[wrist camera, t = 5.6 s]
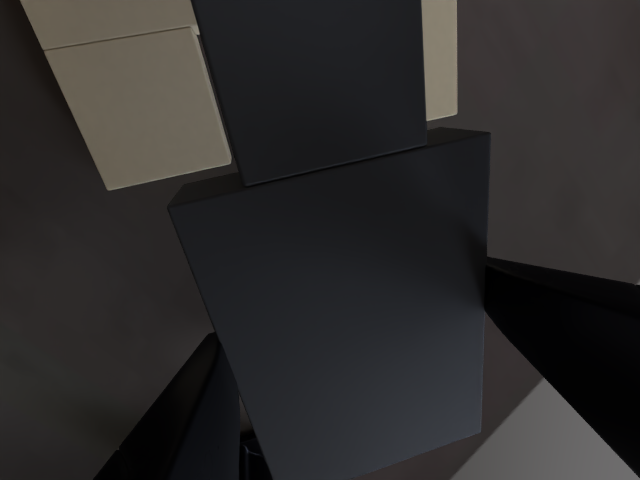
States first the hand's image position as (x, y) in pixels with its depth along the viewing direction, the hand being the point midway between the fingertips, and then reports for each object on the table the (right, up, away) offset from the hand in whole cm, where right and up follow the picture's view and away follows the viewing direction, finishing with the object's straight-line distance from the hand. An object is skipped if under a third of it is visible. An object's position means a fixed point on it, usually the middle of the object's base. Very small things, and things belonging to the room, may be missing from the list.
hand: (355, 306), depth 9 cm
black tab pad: (-1, +1, +1) cm, 2 cm away
